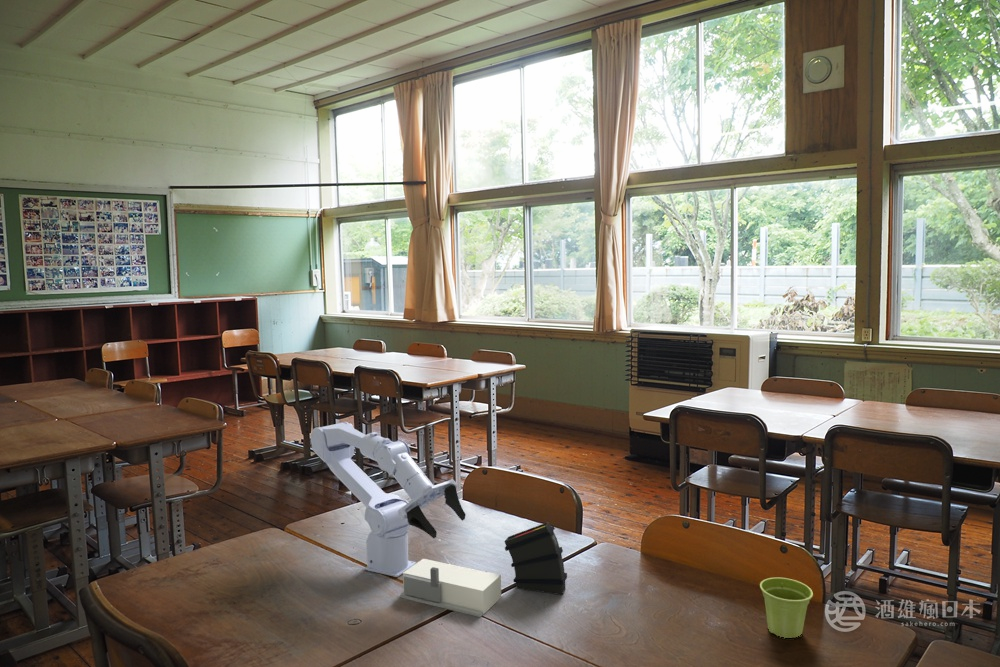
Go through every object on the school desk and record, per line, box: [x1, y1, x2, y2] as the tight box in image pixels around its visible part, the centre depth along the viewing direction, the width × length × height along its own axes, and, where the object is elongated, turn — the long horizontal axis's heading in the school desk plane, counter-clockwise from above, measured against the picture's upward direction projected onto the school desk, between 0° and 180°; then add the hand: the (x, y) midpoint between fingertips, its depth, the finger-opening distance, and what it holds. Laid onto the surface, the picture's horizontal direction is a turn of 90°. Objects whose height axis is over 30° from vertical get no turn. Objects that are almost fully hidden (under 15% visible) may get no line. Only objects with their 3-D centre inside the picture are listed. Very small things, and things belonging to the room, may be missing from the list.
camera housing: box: [399, 558, 502, 618], centre depth 148 cm, size 20×9×5 cm, turn 63°
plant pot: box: [759, 577, 814, 639], centre depth 132 cm, size 9×9×9 cm
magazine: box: [504, 521, 568, 596], centre depth 151 cm, size 4×13×15 cm, turn 70°
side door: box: [404, 567, 441, 602], centre depth 146 cm, size 9×1×7 cm, turn 63°
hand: (449, 526), depth 148 cm, fingers open, 7 cm apart
